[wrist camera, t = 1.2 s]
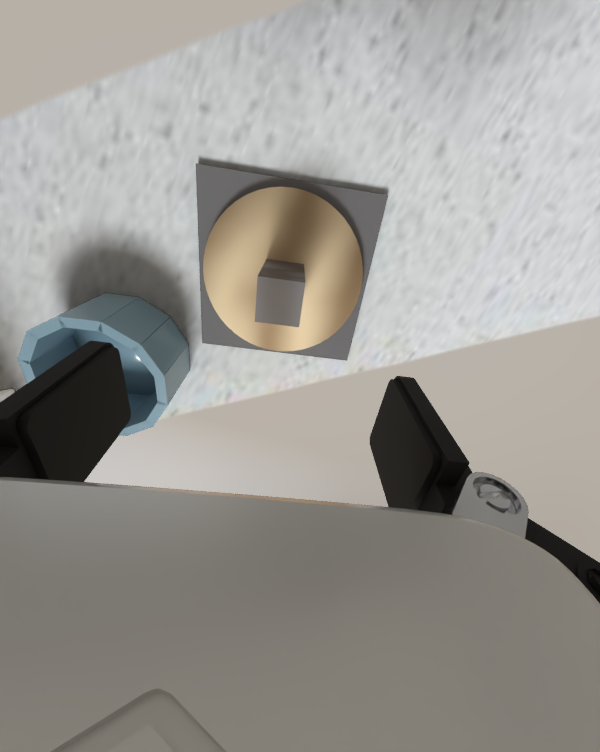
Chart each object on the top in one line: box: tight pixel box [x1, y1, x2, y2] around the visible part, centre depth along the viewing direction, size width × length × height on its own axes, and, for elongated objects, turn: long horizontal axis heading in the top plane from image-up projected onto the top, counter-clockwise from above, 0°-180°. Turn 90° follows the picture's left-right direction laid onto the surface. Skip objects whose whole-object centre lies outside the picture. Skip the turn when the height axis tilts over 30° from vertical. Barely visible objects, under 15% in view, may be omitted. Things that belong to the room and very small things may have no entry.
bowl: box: [18, 293, 190, 436], centre depth 26 cm, size 11×11×6 cm
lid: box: [203, 187, 363, 351], centre depth 22 cm, size 13×13×7 cm
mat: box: [196, 164, 388, 360], centre depth 25 cm, size 14×14×1 cm
